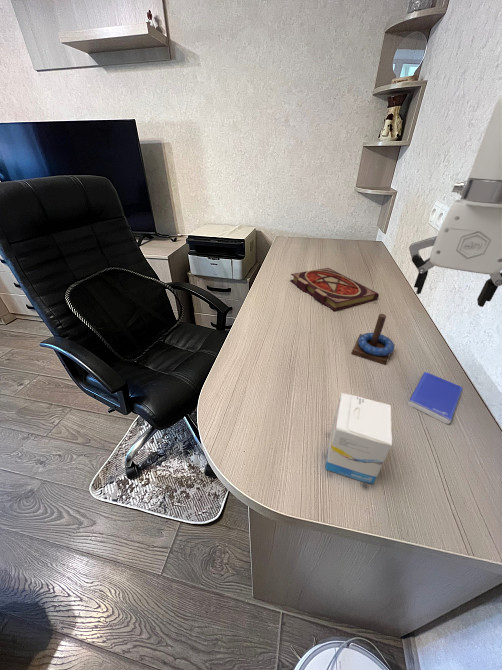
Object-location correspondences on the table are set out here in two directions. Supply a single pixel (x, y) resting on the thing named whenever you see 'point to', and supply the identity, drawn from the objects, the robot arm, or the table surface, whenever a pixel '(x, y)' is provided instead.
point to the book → (333, 288)
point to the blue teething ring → (374, 350)
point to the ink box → (359, 438)
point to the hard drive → (436, 397)
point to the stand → (373, 343)
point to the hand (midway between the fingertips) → (447, 297)
